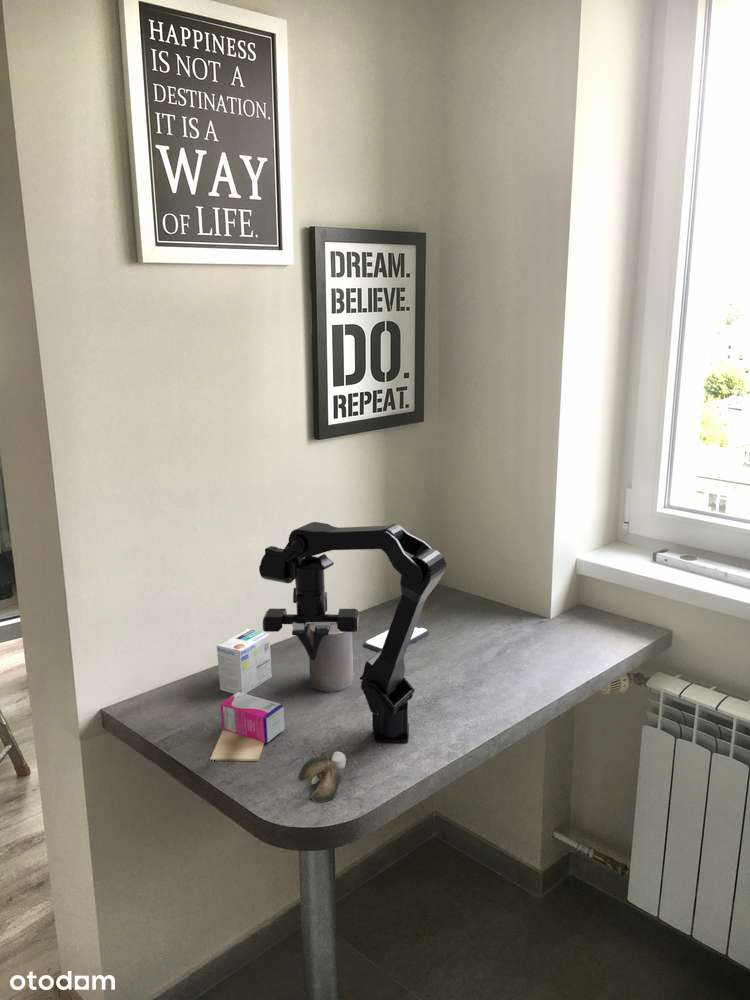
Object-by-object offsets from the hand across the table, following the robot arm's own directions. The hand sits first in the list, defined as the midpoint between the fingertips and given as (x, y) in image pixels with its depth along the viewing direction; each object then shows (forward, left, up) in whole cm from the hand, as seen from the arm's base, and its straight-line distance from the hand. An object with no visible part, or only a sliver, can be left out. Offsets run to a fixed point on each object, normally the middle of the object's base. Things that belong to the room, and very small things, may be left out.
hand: (313, 659), depth 169 cm
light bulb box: (+17, -13, -12) cm, 25 cm away
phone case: (-16, -37, -13) cm, 42 cm away
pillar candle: (-2, -14, -12) cm, 19 cm away
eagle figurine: (-4, +26, -12) cm, 29 cm away
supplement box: (+6, +10, -9) cm, 15 cm away
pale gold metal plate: (+13, +11, -12) cm, 21 cm away
